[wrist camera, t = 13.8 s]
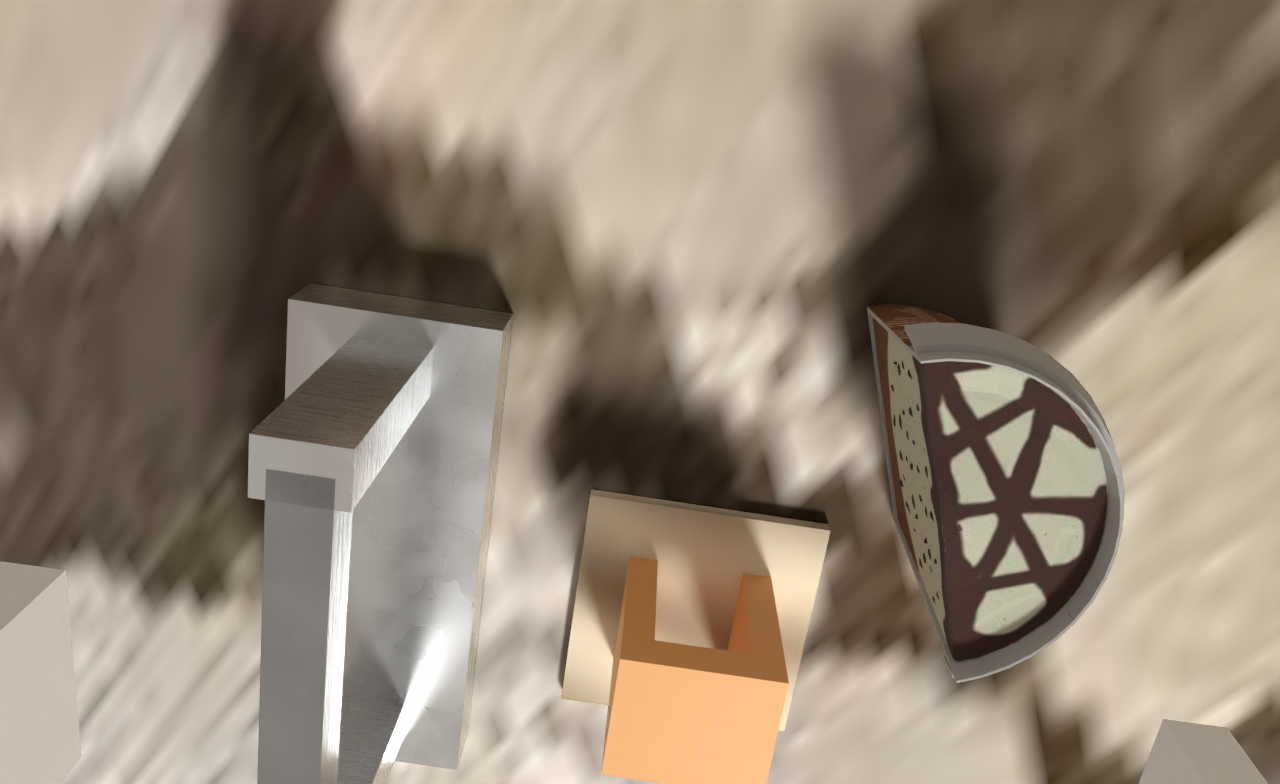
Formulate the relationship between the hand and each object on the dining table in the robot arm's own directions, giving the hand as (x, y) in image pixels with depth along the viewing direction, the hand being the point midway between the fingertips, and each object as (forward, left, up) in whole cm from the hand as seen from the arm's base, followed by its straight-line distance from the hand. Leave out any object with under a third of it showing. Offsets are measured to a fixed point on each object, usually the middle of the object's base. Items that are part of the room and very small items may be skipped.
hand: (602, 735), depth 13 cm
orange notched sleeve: (+15, +4, -28) cm, 32 cm away
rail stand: (+13, -9, -29) cm, 33 cm away
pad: (+15, +4, -29) cm, 33 cm away
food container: (+4, +13, -29) cm, 32 cm away
